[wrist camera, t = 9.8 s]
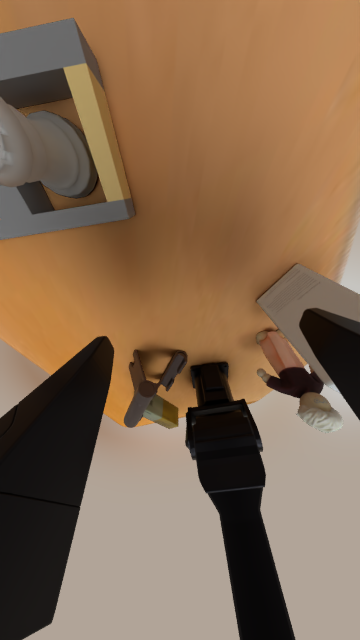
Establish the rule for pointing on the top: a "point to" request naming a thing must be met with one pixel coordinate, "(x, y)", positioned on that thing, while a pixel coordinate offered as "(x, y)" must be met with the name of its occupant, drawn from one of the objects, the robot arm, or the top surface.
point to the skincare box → (303, 293)
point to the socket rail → (88, 93)
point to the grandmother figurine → (297, 382)
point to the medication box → (162, 412)
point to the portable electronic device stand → (149, 385)
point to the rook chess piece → (44, 152)
